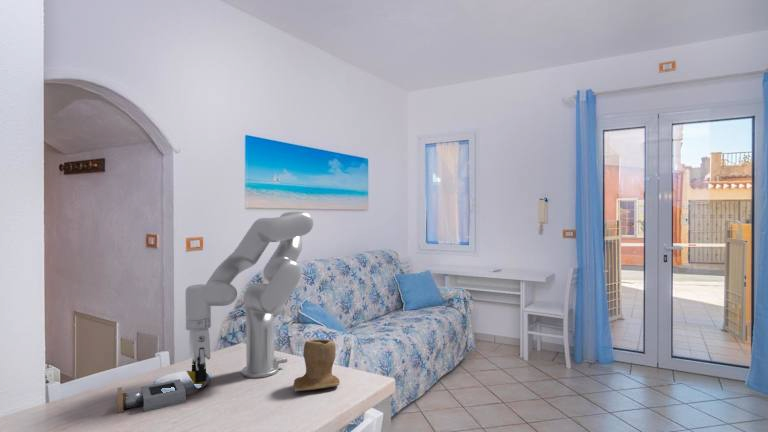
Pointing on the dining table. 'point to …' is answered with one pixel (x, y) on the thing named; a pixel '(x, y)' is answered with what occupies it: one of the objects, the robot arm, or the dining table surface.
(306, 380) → the brown hollow boot figurine
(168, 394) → the fitting
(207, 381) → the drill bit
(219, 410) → the dining table surface
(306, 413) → the dining table surface
